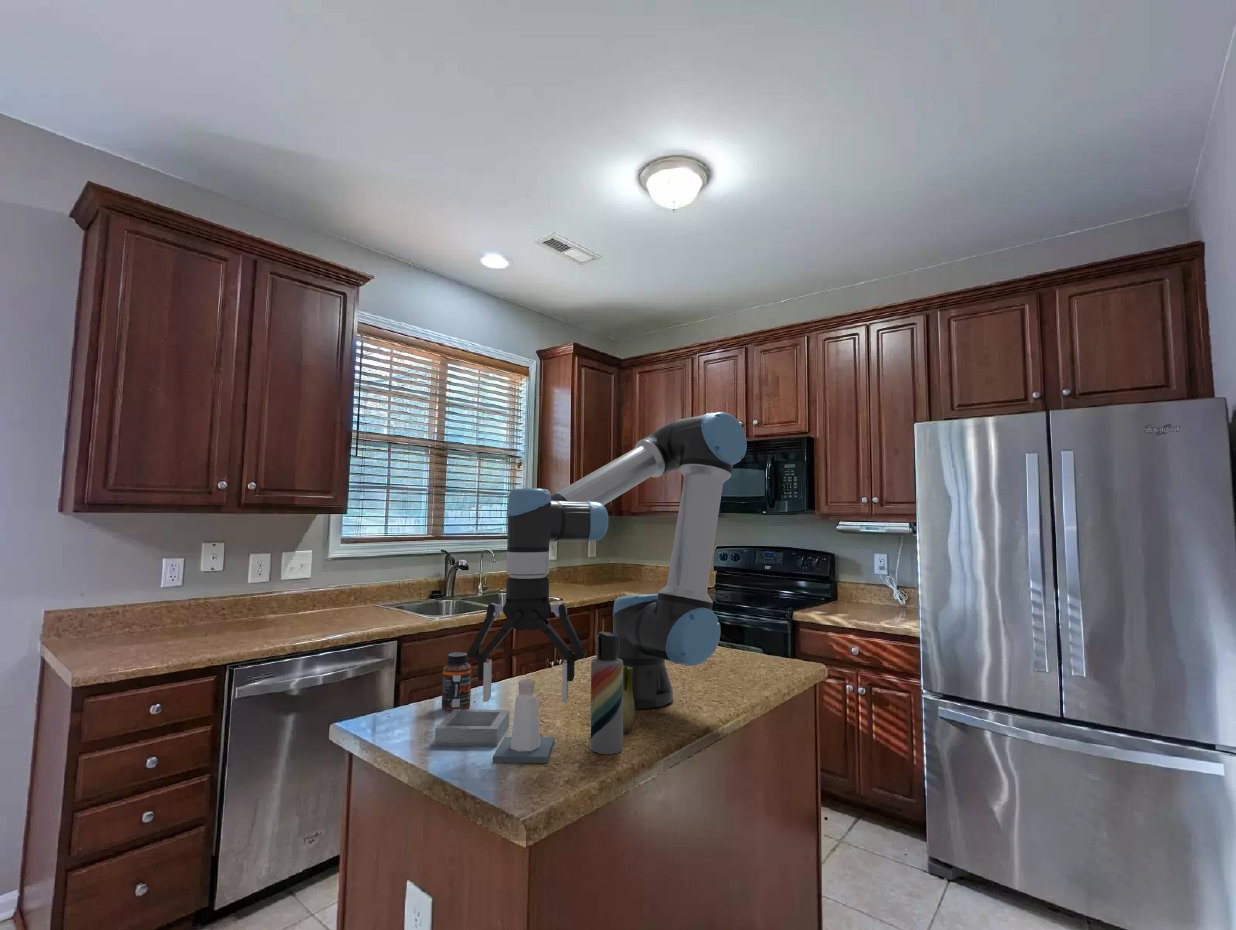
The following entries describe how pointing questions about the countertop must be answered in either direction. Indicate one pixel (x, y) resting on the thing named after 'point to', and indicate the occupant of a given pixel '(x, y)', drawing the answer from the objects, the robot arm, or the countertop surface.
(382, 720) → the countertop surface
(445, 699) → the supplement bottle
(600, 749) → the lotion bottle
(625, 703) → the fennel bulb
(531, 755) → the mat
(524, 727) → the salt shaker
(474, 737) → the gray square tray
